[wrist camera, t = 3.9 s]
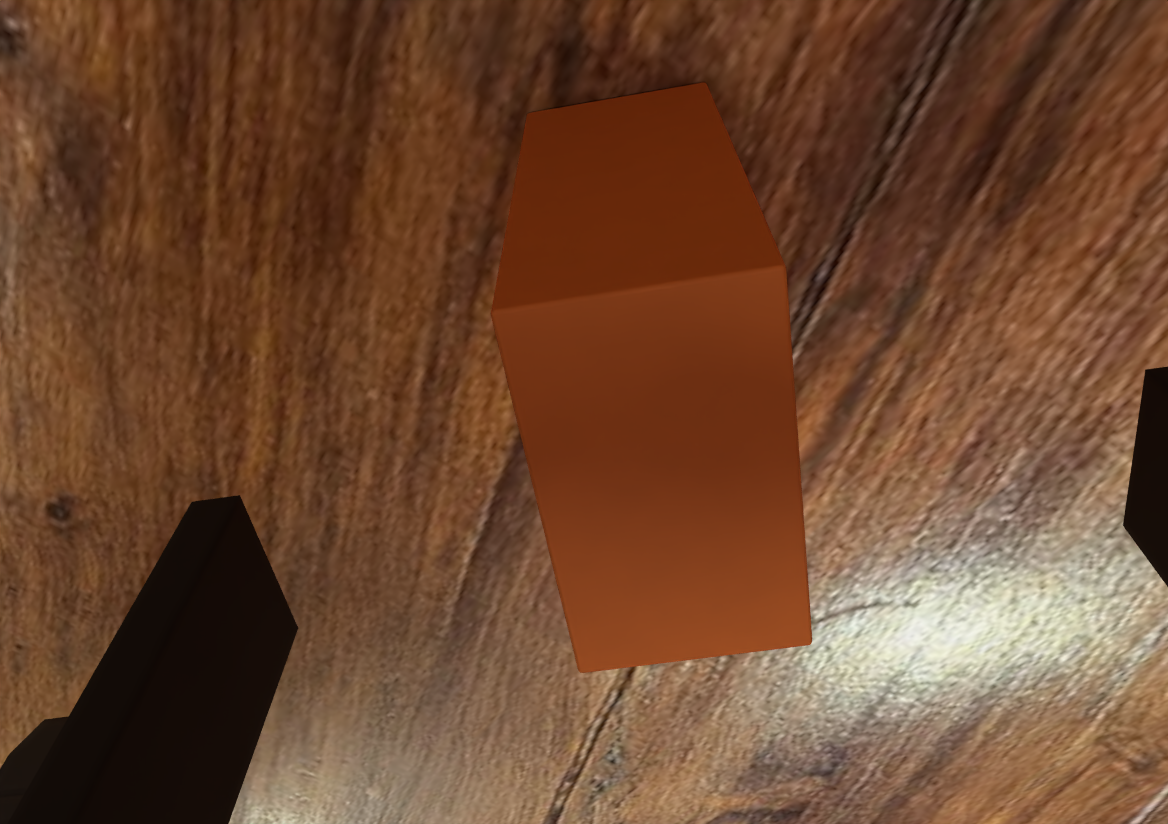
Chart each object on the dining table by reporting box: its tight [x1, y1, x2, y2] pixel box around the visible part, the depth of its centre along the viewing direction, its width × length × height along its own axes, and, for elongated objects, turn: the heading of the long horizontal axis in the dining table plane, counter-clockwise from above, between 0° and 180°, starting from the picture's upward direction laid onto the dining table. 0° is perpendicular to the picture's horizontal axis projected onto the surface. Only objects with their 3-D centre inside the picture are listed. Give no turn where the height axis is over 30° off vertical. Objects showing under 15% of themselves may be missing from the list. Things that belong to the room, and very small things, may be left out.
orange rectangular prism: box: [491, 82, 812, 673], centre depth 19 cm, size 4×7×10 cm, turn 10°
